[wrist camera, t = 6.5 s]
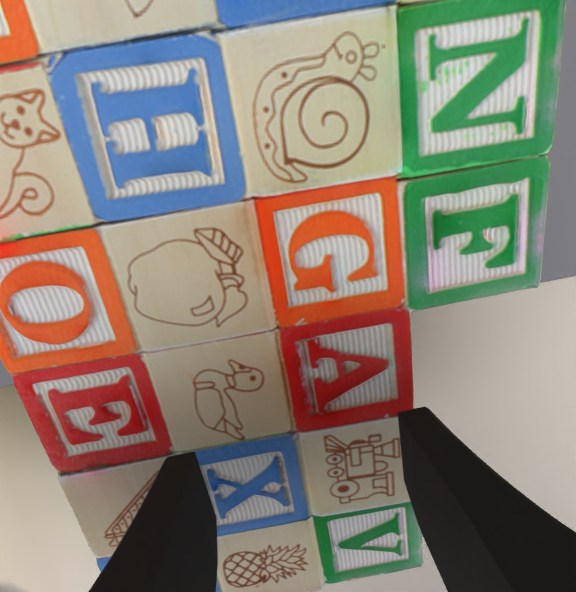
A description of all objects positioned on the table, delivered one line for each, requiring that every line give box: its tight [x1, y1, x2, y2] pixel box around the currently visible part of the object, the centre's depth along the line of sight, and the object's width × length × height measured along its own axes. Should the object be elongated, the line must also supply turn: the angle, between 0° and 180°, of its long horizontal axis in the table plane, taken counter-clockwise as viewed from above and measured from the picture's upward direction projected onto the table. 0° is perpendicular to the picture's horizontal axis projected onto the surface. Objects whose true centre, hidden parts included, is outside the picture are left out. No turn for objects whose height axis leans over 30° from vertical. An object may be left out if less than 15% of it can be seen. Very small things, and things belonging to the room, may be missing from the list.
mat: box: [0, 0, 576, 387], centre depth 16 cm, size 14×28×1 cm, turn 100°
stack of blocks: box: [0, 0, 566, 592], centre depth 14 cm, size 21×6×12 cm
